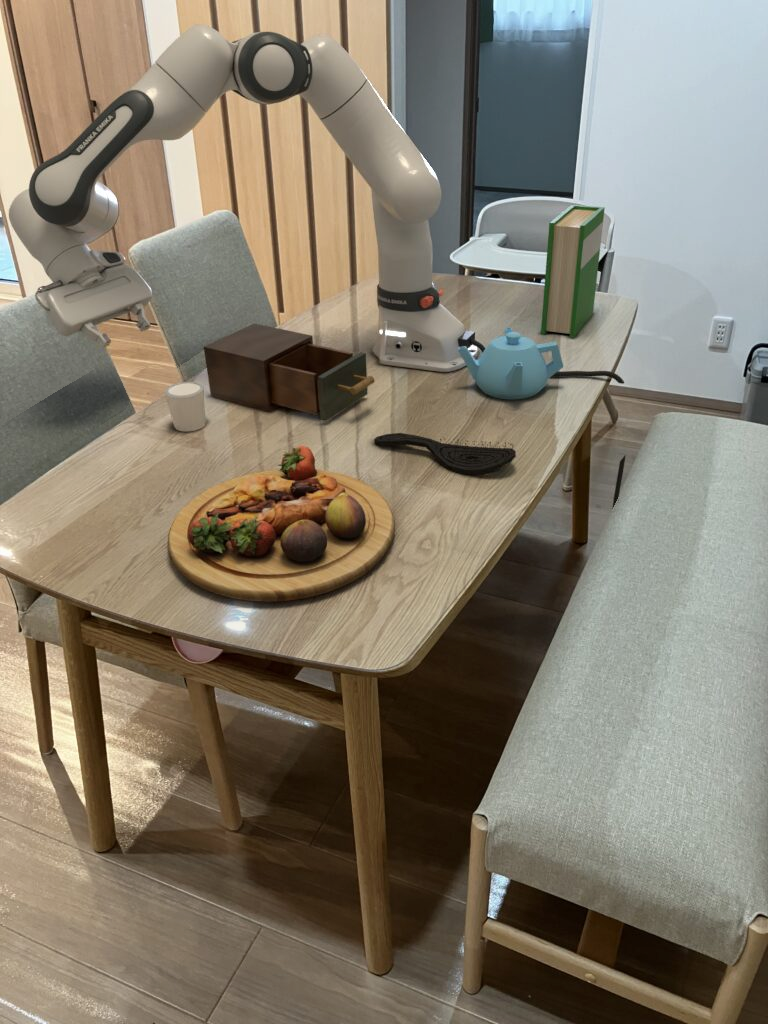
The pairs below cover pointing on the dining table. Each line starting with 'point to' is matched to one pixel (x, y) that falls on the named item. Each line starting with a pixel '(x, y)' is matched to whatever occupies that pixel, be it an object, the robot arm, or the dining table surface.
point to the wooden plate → (281, 532)
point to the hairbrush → (455, 453)
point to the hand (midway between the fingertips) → (127, 336)
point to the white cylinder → (186, 405)
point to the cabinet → (248, 363)
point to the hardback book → (571, 269)
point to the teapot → (512, 366)
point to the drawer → (318, 380)
